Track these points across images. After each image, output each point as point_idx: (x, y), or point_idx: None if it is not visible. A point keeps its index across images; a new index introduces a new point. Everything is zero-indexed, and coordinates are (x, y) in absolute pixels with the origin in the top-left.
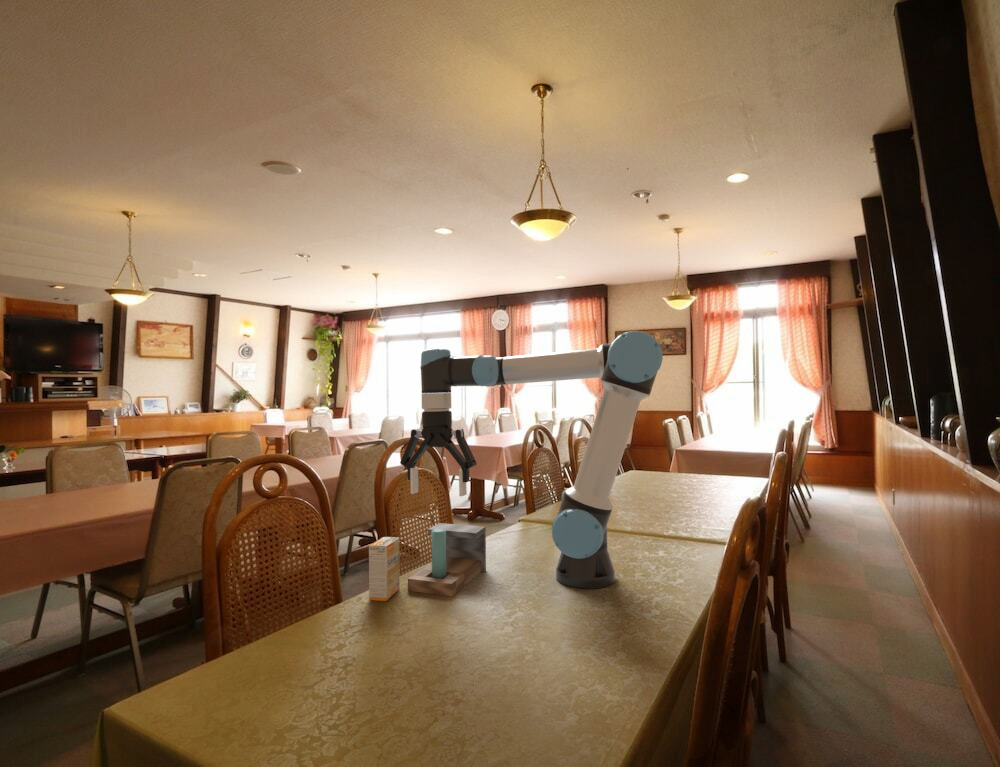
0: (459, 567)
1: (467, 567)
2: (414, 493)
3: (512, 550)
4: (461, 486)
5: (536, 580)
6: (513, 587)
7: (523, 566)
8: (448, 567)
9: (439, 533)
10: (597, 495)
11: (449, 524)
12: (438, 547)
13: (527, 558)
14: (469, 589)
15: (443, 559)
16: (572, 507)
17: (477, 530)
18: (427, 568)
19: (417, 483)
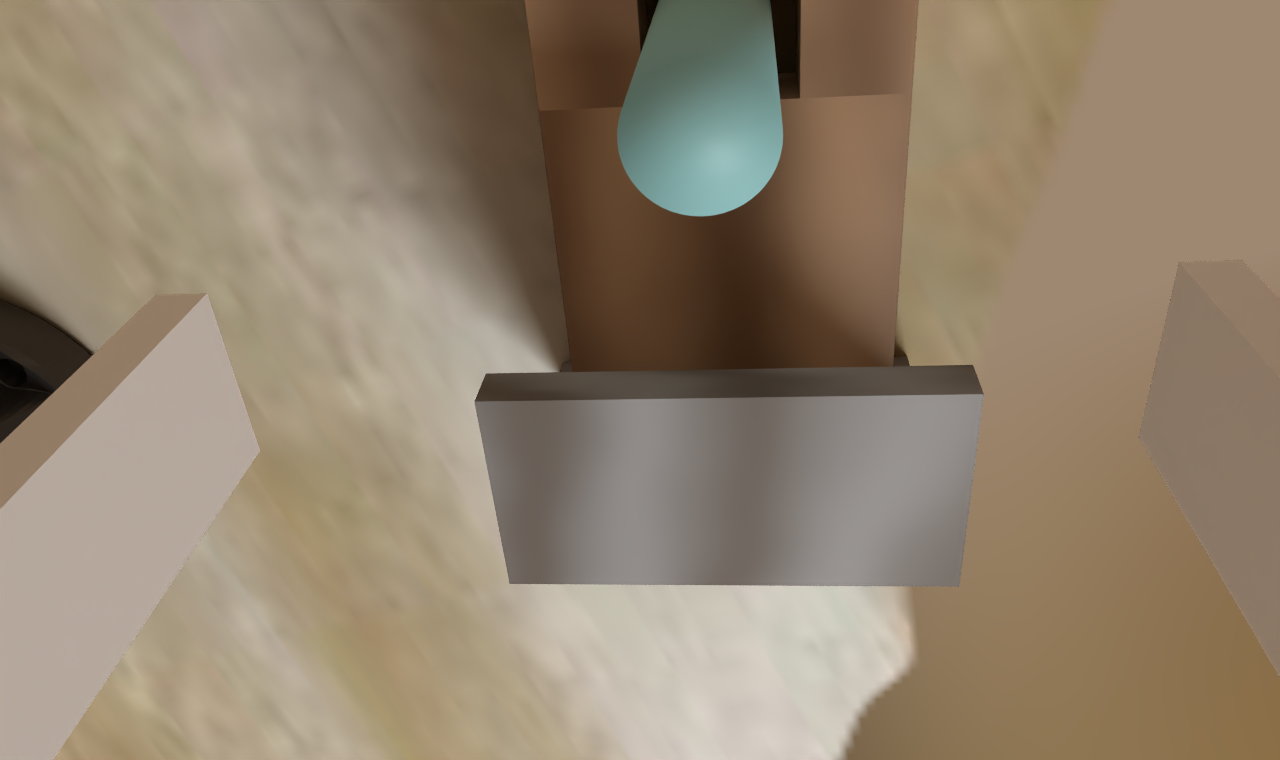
0: (643, 225)
1: (589, 245)
2: (1169, 307)
3: (592, 703)
4: (67, 387)
5: None
6: (249, 174)
7: (398, 505)
8: None
9: (651, 71)
10: None
11: (845, 570)
12: (672, 24)
13: (447, 617)
14: (484, 34)
15: (647, 33)
16: None
17: (508, 475)
18: (873, 121)
19: (1211, 522)
